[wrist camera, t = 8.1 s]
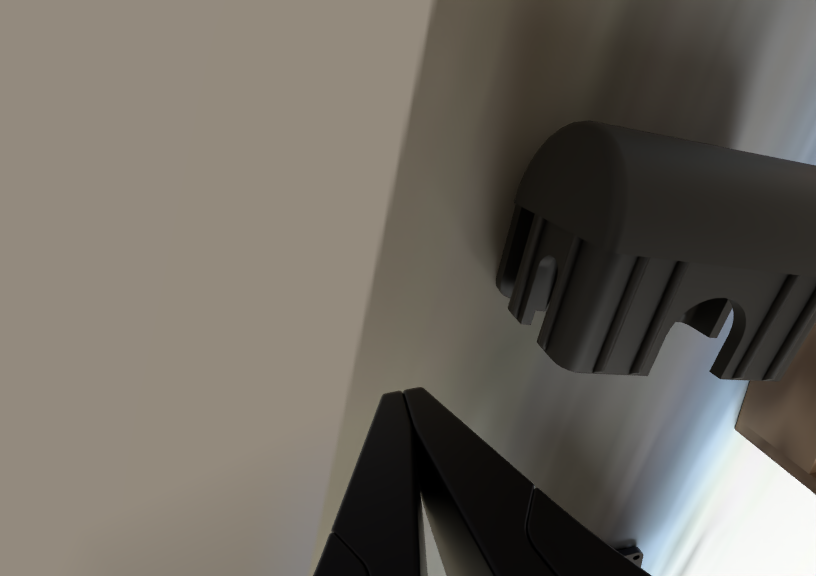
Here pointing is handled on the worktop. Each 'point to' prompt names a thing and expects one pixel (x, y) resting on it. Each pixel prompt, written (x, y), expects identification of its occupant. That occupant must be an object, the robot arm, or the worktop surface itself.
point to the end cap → (661, 251)
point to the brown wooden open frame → (786, 415)
